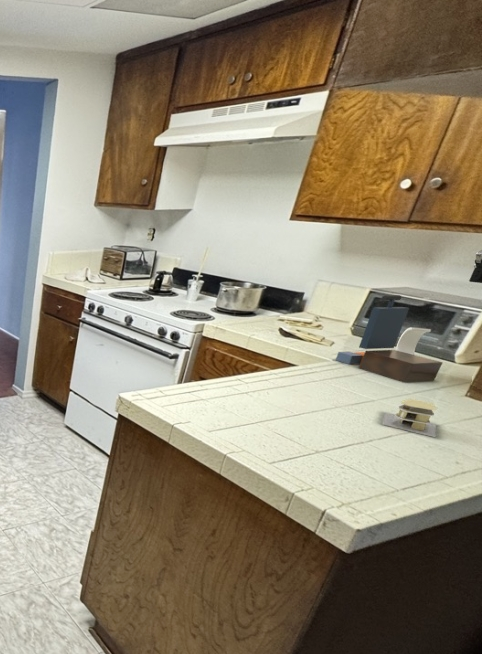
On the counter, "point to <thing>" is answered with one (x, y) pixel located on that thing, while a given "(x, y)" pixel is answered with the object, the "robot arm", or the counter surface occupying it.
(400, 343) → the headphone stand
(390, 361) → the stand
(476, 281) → the robot arm
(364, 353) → the block
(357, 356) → the grey-blue packet
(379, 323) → the blue slab
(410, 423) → the stacked layers on plate
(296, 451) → the counter surface
